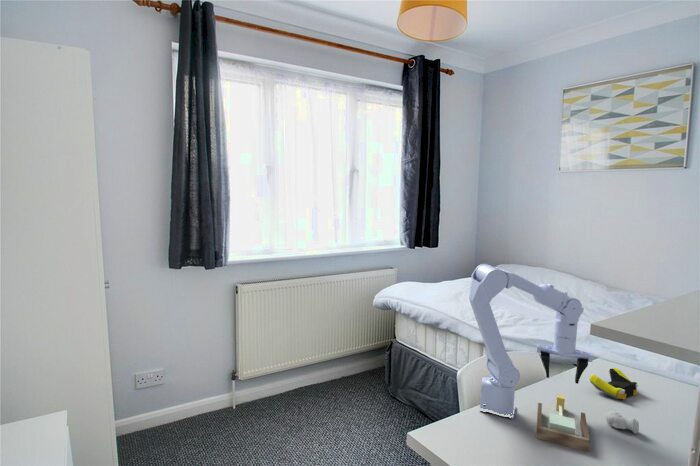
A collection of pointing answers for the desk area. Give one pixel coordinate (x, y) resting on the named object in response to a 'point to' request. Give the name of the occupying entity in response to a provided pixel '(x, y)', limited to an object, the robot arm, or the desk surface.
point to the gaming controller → (615, 385)
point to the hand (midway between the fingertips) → (561, 379)
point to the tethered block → (561, 418)
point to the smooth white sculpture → (622, 422)
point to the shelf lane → (564, 434)
